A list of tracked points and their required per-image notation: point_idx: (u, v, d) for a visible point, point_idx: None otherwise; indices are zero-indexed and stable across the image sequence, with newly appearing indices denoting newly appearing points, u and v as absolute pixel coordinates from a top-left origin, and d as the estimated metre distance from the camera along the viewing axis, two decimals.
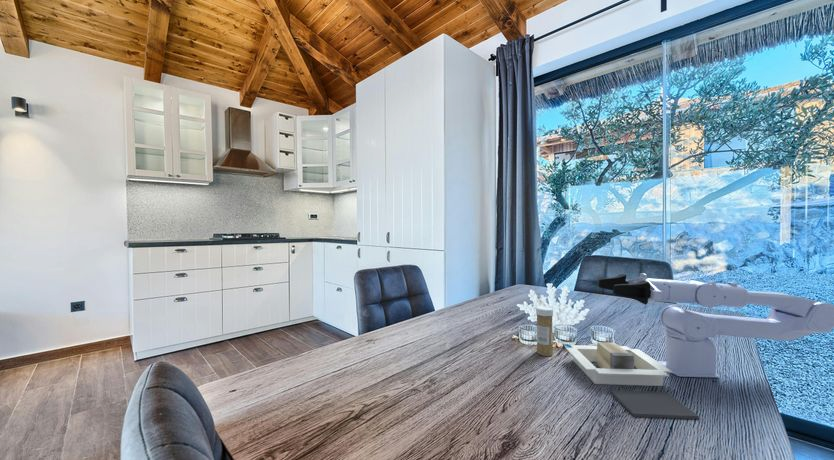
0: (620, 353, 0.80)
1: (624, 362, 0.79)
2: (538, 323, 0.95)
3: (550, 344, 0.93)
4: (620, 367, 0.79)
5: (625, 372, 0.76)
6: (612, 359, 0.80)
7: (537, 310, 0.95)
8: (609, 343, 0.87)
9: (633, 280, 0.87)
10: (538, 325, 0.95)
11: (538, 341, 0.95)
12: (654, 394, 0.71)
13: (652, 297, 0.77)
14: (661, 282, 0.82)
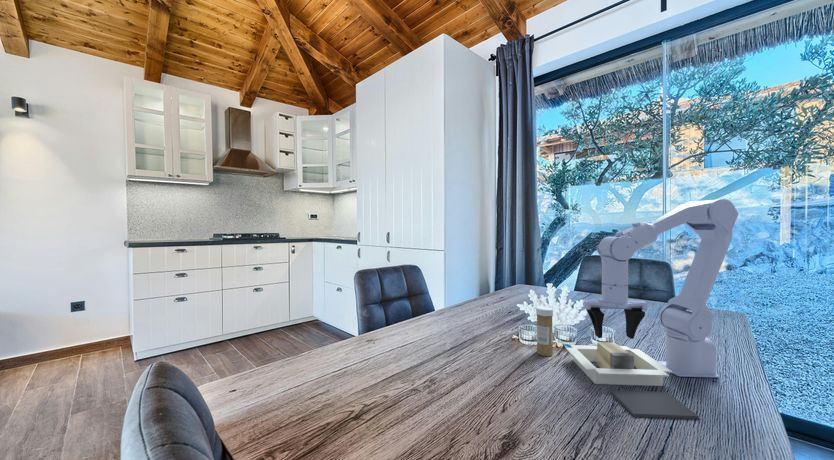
0: (620, 353, 0.80)
1: (624, 362, 0.79)
2: (538, 323, 0.95)
3: (550, 344, 0.93)
4: (620, 367, 0.79)
5: (625, 372, 0.76)
6: (612, 359, 0.80)
7: (537, 310, 0.95)
8: (609, 343, 0.87)
9: None
10: (538, 325, 0.95)
11: (538, 341, 0.95)
12: (654, 394, 0.71)
13: None
14: (626, 290, 0.80)
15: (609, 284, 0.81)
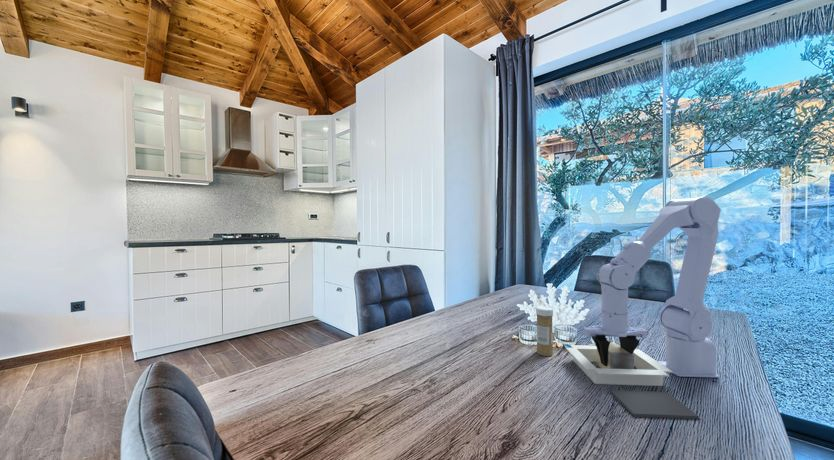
0: (620, 353, 0.80)
1: (624, 362, 0.79)
2: (538, 323, 0.95)
3: (550, 344, 0.93)
4: (620, 366, 0.79)
5: (625, 372, 0.76)
6: (612, 359, 0.80)
7: (537, 310, 0.95)
8: None
9: None
10: (538, 325, 0.95)
11: (538, 341, 0.95)
12: (654, 394, 0.71)
13: None
14: (626, 319, 0.81)
15: (609, 312, 0.81)
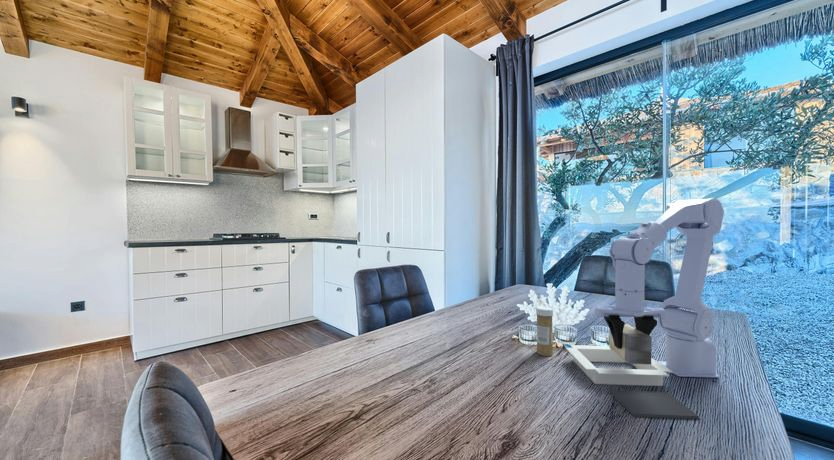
0: (636, 334, 0.73)
1: (640, 344, 0.72)
2: (538, 323, 0.95)
3: (550, 344, 0.93)
4: (636, 348, 0.72)
5: (625, 372, 0.76)
6: (627, 340, 0.73)
7: (537, 310, 0.95)
8: None
9: None
10: (538, 325, 0.95)
11: (538, 341, 0.95)
12: (654, 394, 0.71)
13: None
14: (642, 297, 0.74)
15: (629, 290, 0.74)
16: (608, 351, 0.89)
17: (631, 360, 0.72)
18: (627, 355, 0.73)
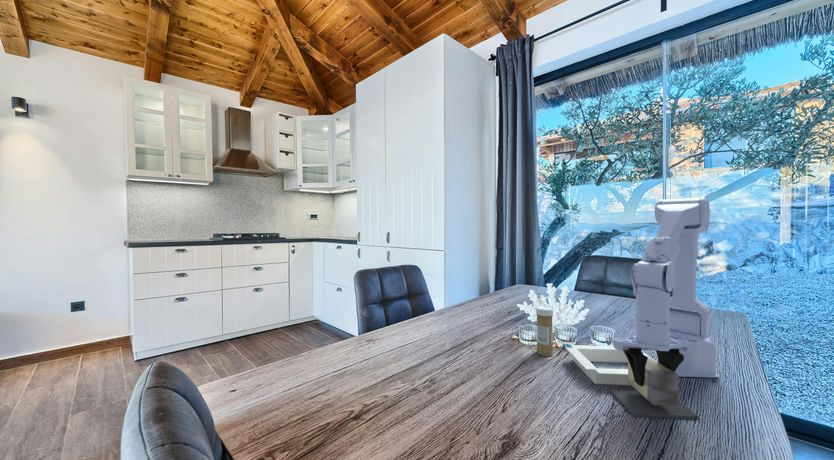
0: (660, 371, 0.65)
1: (666, 382, 0.64)
2: (538, 323, 0.95)
3: (550, 344, 0.93)
4: (660, 388, 0.64)
5: (625, 372, 0.76)
6: (650, 378, 0.65)
7: (537, 310, 0.95)
8: None
9: None
10: (538, 325, 0.95)
11: (538, 341, 0.95)
12: None
13: None
14: (667, 329, 0.66)
15: (657, 322, 0.65)
16: (608, 351, 0.89)
17: (655, 401, 0.64)
18: (650, 395, 0.65)
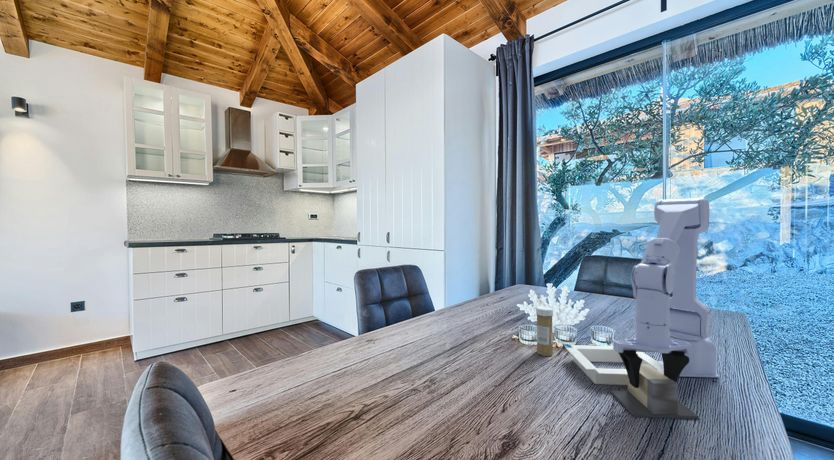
0: (660, 380, 0.65)
1: (666, 391, 0.64)
2: (538, 323, 0.95)
3: (550, 344, 0.93)
4: (660, 397, 0.64)
5: (625, 372, 0.76)
6: (650, 387, 0.65)
7: (537, 310, 0.95)
8: (643, 365, 0.72)
9: None
10: (538, 325, 0.95)
11: (538, 341, 0.95)
12: None
13: None
14: (667, 331, 0.66)
15: (657, 324, 0.65)
16: (608, 351, 0.89)
17: (655, 410, 0.64)
18: (650, 404, 0.65)
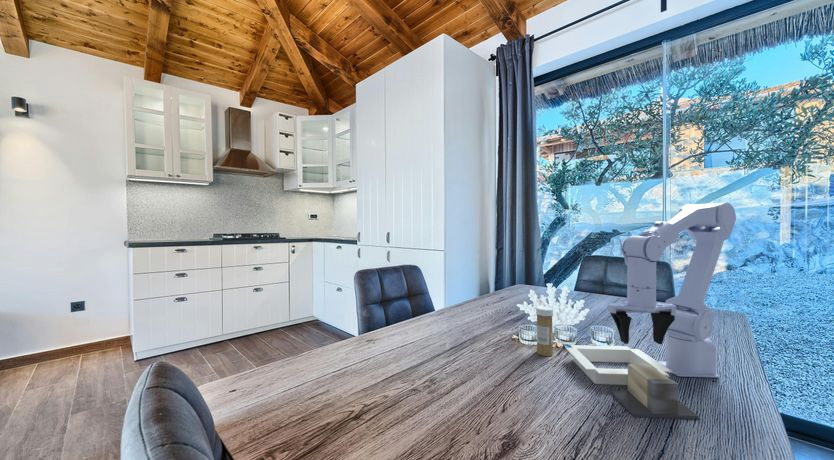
0: (660, 380, 0.65)
1: (666, 391, 0.64)
2: (538, 323, 0.95)
3: (550, 344, 0.93)
4: (660, 397, 0.64)
5: (625, 372, 0.76)
6: (650, 387, 0.65)
7: (537, 310, 0.95)
8: (643, 365, 0.72)
9: None
10: (538, 325, 0.95)
11: (538, 341, 0.95)
12: None
13: None
14: (654, 293, 0.76)
15: (641, 287, 0.76)
16: (608, 351, 0.89)
17: (655, 410, 0.64)
18: (650, 404, 0.65)
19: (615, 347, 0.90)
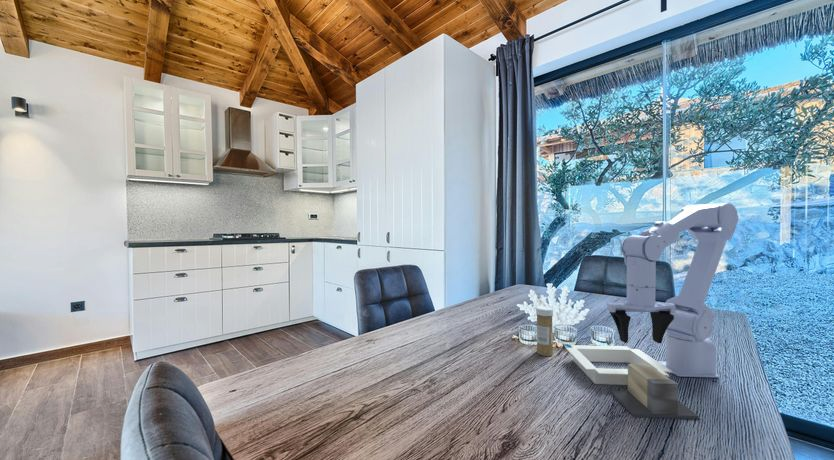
0: (660, 380, 0.65)
1: (666, 391, 0.64)
2: (538, 323, 0.95)
3: (550, 344, 0.93)
4: (660, 397, 0.64)
5: (625, 372, 0.76)
6: (650, 387, 0.65)
7: (537, 310, 0.95)
8: (643, 365, 0.72)
9: None
10: (538, 325, 0.95)
11: (538, 341, 0.95)
12: None
13: None
14: (653, 292, 0.76)
15: (640, 286, 0.76)
16: (608, 351, 0.89)
17: (655, 410, 0.64)
18: (650, 404, 0.65)
19: (615, 347, 0.90)
